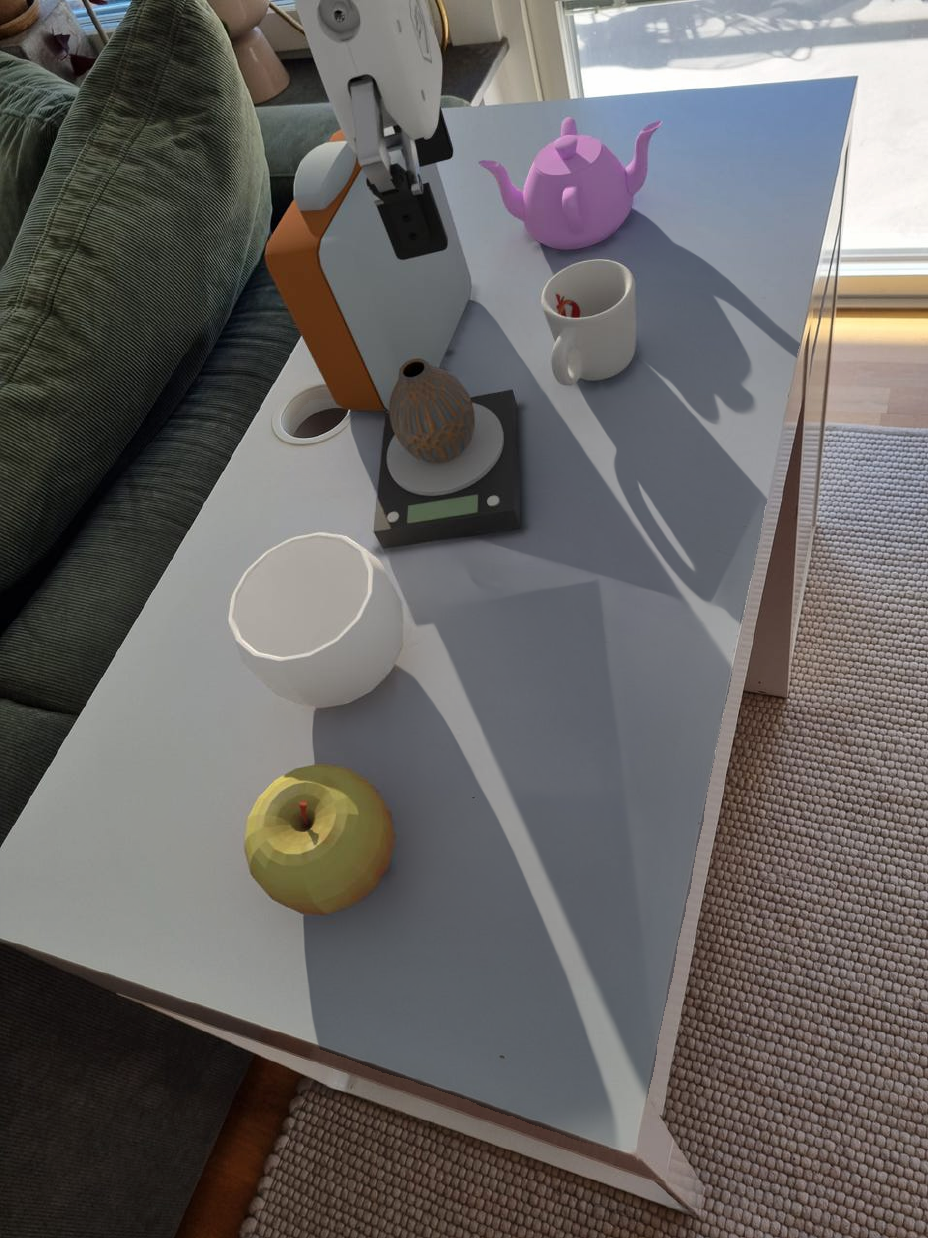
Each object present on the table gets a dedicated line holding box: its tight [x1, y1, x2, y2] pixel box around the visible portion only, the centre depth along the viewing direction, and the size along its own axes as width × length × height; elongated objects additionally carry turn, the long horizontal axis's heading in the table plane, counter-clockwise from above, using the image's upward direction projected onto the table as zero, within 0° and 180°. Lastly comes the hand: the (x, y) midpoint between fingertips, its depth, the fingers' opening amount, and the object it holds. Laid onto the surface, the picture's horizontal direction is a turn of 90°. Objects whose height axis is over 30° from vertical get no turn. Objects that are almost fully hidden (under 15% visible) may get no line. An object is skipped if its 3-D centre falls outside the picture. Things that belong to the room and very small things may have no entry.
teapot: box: [478, 117, 663, 251], centre depth 95 cm, size 12×14×9 cm
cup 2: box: [540, 258, 637, 387], centre depth 82 cm, size 11×8×8 cm
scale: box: [373, 389, 521, 550], centre depth 81 cm, size 12×14×3 cm
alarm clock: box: [264, 126, 473, 412], centre depth 86 cm, size 18×9×21 cm, turn 162°
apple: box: [243, 763, 396, 915], centre depth 62 cm, size 10×10×8 cm
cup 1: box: [227, 531, 404, 709], centre depth 71 cm, size 12×12×10 cm
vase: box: [388, 358, 475, 463], centre depth 77 cm, size 7×7×9 cm
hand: (427, 204), depth 59 cm, fingers open, 9 cm apart
